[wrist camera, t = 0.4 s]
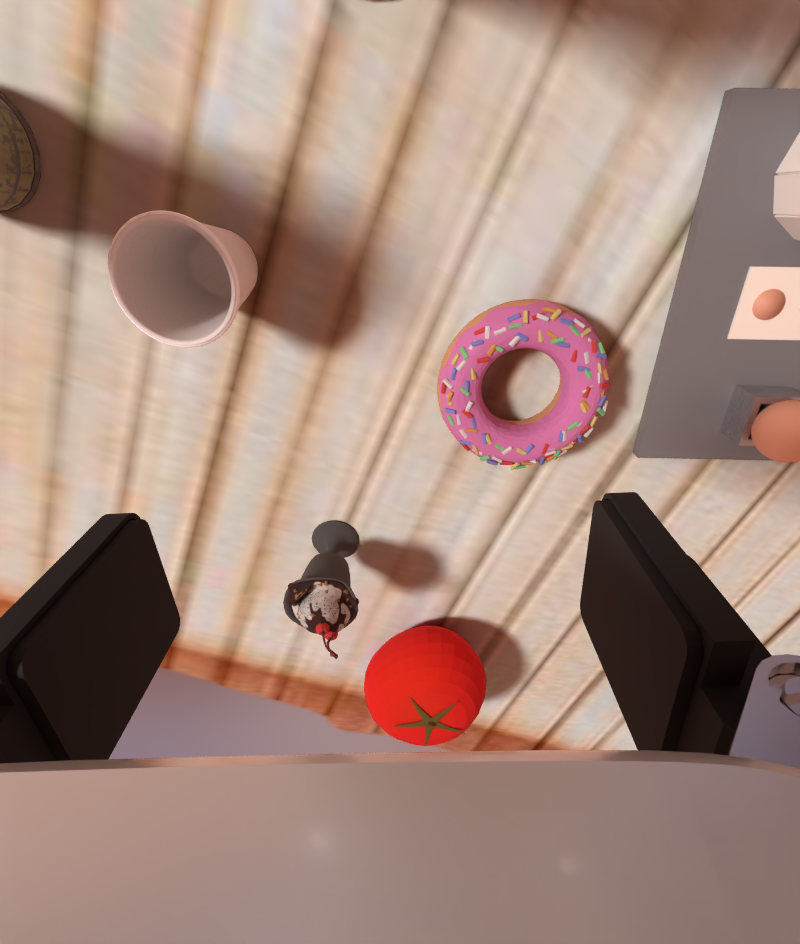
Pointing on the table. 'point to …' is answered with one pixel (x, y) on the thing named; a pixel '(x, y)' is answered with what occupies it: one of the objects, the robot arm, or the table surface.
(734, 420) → the grey hollow block
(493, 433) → the donut
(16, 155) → the olive tall column
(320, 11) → the table surface
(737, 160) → the board
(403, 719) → the tomato
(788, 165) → the tube
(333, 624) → the sundae
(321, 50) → the table surface
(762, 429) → the ball
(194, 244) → the dixie cup
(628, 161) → the table surface
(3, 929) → the robot arm
